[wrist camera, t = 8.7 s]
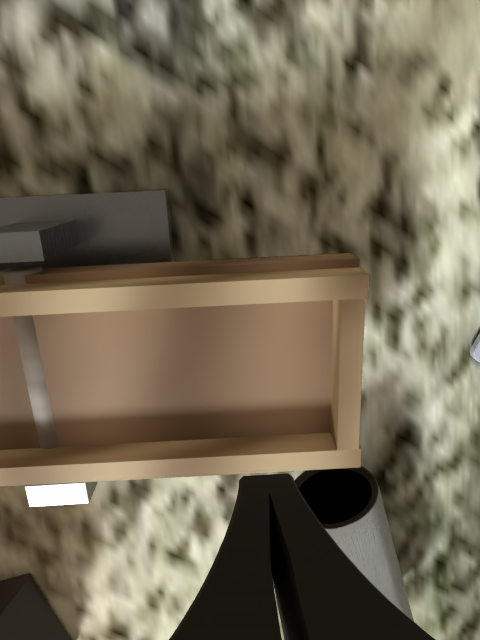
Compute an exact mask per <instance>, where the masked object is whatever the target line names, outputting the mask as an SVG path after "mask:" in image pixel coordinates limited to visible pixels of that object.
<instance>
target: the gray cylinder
mask: <svg viewBox="0 0 480 640" xmlns="http://www.w3.org/2000/svg"><path fill="white" fill-rule="evenodd" d="M295 483H296V485H297V487H298V489H299V490H300V492H301V494H302V496H303V497H304V499H305V500H306V502H307V503H308V505H309V507H310V508H311V510H312V511H313V513H314V514H315V516H316V517H317V518H318V520H319V521H320V522H321V524H322V525H323V527H324V528H325V529H326V531H327V532H328V533H329V535H330V536H331V537H332V539H333V540H334V541H335V542H336V544H337V545H338V546H339V547H340V548H341V550H342V551H343V552H344V553H345V555H346V556H347V557H348V558H349V559H350V560H351V561H352V563H353V564H354V565H355V566H356V567H357V568H358V569H359V570H360V571H361V573H362V574H363V575H364V576H365V577H366V578H367V579H368V580H369V581H370V582H371V583H372V584H373V585H374V586H375V587H376V588H377V589H378V590H379V591H380V592H381V593H382V594H383V595H384V596H385V597H386V598H387V599H388V600H389V601H390V602H392V603H393V604H394V605H395V606H396V607H397V608H398V609H399V610H401V611H402V612H403V613H404V614H405V615H406V616H408V617H409V618H410V619H411V620H412V621H413V622H414V620H413V616H412V613H411V609H410V605H409V601H408V597H407V593H406V589H405V586H404V582H403V578H402V574H401V570H400V566H399V562H398V559H397V555H396V551H395V547H394V543H393V539H392V535H391V531H390V528H389V524H388V520H387V516H386V512H385V508H384V504H383V501H382V497H381V493H380V489H379V486H378V483H377V480H376V478H375V477H374V476H373V474H372V473H371V472H370V471H368V470H367V469H366V468H364V467H362V466H361V467H358V468H339V469H321V470H306V471H305V472H303V473H302V474H301V475H300V476H298V477H297V478H296V480H295Z"/></svg>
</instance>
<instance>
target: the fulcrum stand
mask: <svg viewBox="0 0 480 640" xmlns="http://www.w3.org/2000/svg"><path fill="white" fill-rule="evenodd" d="M159 262H175V256H174V245H173V234H172V223H171V212H170V201H169V190H168V189H165V190H145V191H124V192H103V193H82V194H62V195H41V196H20V197H0V270H5V269H8V268H14V267H21V266H42V268H58V267H78V266H98V265H118V264H139V263H159ZM97 482H98V481H97ZM97 482H78V483H60V484H41V485H25V489H26V494H27V498H28V502H29V507H37V506H53V505H70V504H86V503H89V502H90V499H91V497H92V494H93V492H94V489H95V487H96V484H97Z"/></svg>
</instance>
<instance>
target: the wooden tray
mask: <svg viewBox="0 0 480 640" xmlns="http://www.w3.org/2000/svg"><path fill="white" fill-rule="evenodd" d="M368 294H369V274H368V273H366V272H365V271H364V270H362V269H361V268H359V258H357V257H356V256H354V255H353V254H351V253H341V254H321V255H301V256H281V257H260V258H240V259H220V260H199V261H179V262H159V263H139V264H118V265H98V266H78V267H58V268H42V266H21V267H14V268H8V269H5V270H0V487H4V486H22V485H41V484H60V483H78V482H97V481H115V480H134V479H153V478H171V477H190V476H209V475H227V474H246V473H265V472H283V471H302V470H321V469H339V468H358V467H361V447H360V445H359V432H360V409H361V386H362V363H363V340H364V317H365V299H366V298H368Z"/></svg>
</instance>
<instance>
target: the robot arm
mask: <svg viewBox="0 0 480 640" xmlns="http://www.w3.org/2000/svg"><path fill="white" fill-rule="evenodd" d="M470 354H471V356H472V357H473V358H474V359H475V360H477V361H478V362H480V333H479V335H478V337H477V338H476V340H475V342H474V343H473V345H472V347H471V350H470ZM273 584H274V586H273ZM274 589H275V593H274ZM275 594H276V599H277V604H278V609H279V614H280V619H281V624H282V629H283V633H284V638H285V640H435V639H434V638H432V637H431V636H430V635H429V634H427V633H426V632H425V631H424V630H423V629H422V628H420V627H419V626H418V625H417V624H416V623H415V622H413V621H412V620H411V619H410V618H409V617H408V616H406V615H405V614H404V613H403V612H402V611H401V610H399V609H398V608H397V607H396V606H395V605H394V604H393V603H392V602H390V601H389V600H388V599H387V598H386V597H385V596H384V595H383V594H382V593H381V592H380V591H379V590H378V589H377V588H376V587H375V586H374V585H373V584H372V583H371V582H370V581H369V580H368V579H367V578H366V577H365V576H364V575H363V574H362V573H361V571H360V570H359V569H358V568H357V567H356V566H355V565H354V564H353V563H352V561H351V560H350V559H349V558H348V557H347V556H346V555H345V553H344V552H343V551H342V550H341V548H340V547H339V546H338V545H337V544H336V542H335V541H334V540H333V539H332V537H331V536H330V535H329V533H328V532H327V531H326V529H325V528H324V527H323V525H322V524H321V522H320V521H319V520H318V518H317V517H316V516H315V514H314V513H313V511H312V510H311V508H310V507H309V505H308V503H307V502H306V500H305V499H304V497H303V496H302V494H301V492H300V490H299V489H298V487H297V485H296V483H295V481H294V479H293V477H292V476H291V475H290V474H272V475H255V476H243V477H242V478H241V479H240V480H239V490H238V495H237V500H236V504H235V507H234V511H233V514H232V517H231V520H230V523H229V526H228V529H227V532H226V535H225V537H224V540H223V542H222V544H221V547H220V549H219V552H218V554H217V556H216V559H215V561H214V563H213V565H212V567H211V569H210V571H209V574H208V576H207V577H206V579H205V581H204V583H203V585H202V587H201V589H200V591H199V593H198V594H197V596H196V598H195V600H194V601H193V603H192V605H191V606H190V608H189V610H188V611H187V613H186V615H185V616H184V618H183V620H182V621H181V623H180V624H179V626H178V627H177V629H176V630H175V632H174V633H173V635H172V636H171V638H170V639H169V640H282V639H281V633H280V626H279V620H278V613H277V606H276V600H275Z"/></svg>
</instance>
